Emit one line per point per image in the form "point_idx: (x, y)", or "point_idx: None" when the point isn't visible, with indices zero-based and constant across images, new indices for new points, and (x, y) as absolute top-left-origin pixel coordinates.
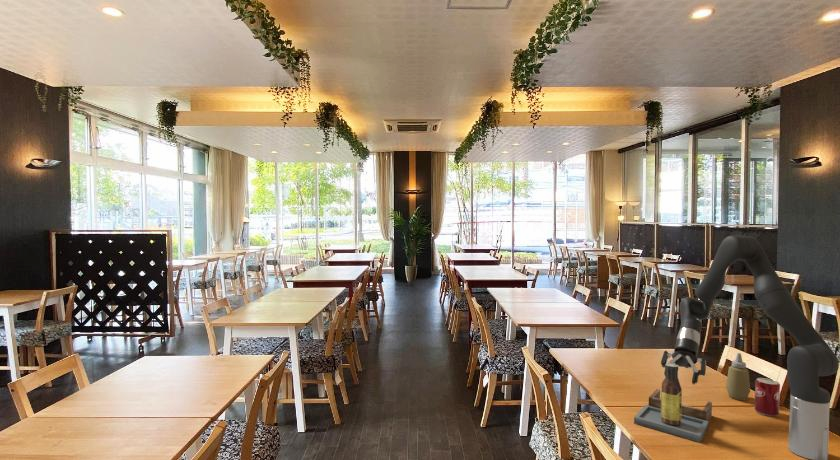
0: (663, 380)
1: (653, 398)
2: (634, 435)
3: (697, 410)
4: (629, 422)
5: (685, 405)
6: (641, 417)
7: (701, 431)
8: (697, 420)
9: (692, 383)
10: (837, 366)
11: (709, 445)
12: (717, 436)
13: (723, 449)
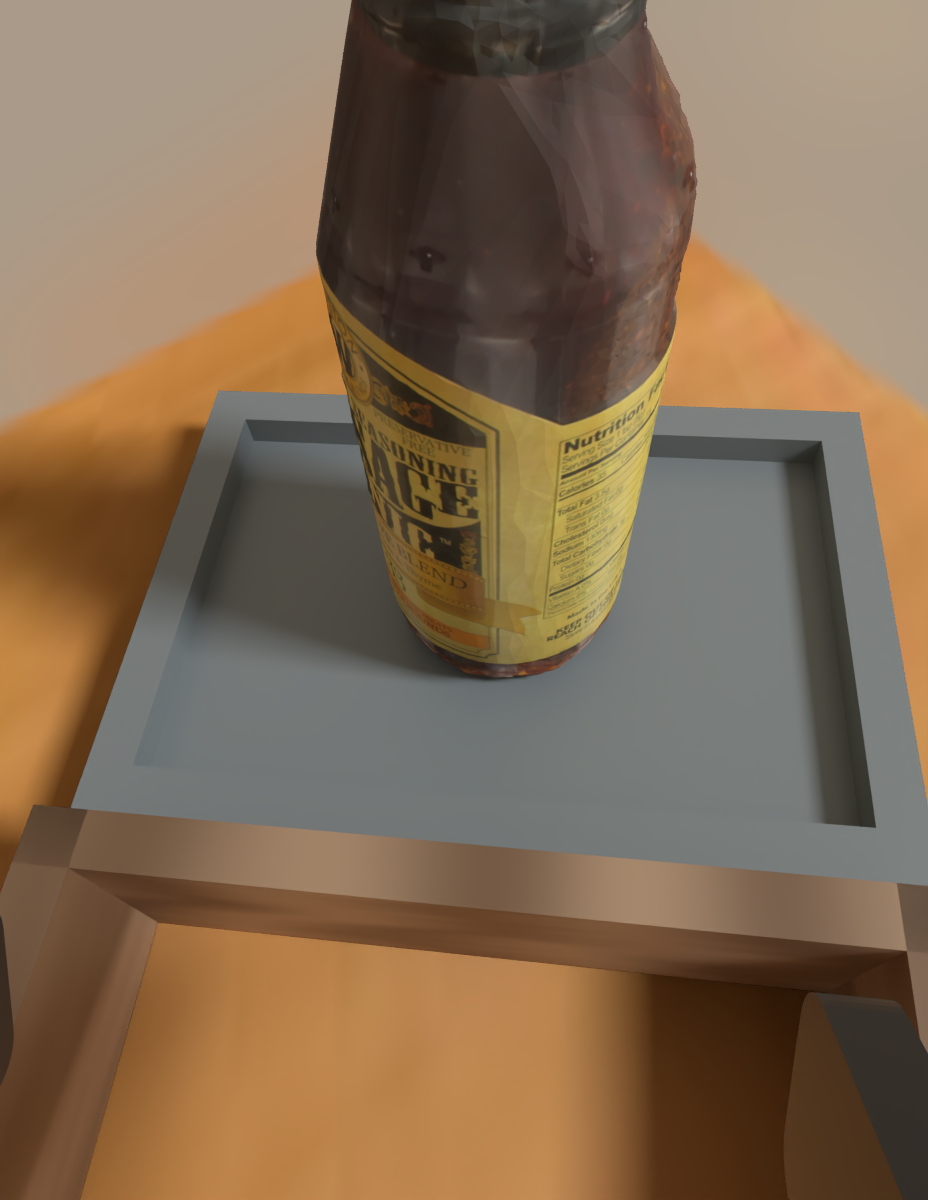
0: (669, 79)
1: (875, 887)
2: (731, 272)
3: (160, 818)
4: (880, 456)
5: (330, 887)
6: (816, 534)
7: (197, 476)
8: (207, 773)
9: (6, 999)
10: None
11: (168, 433)
12: (55, 652)
13: (68, 430)
